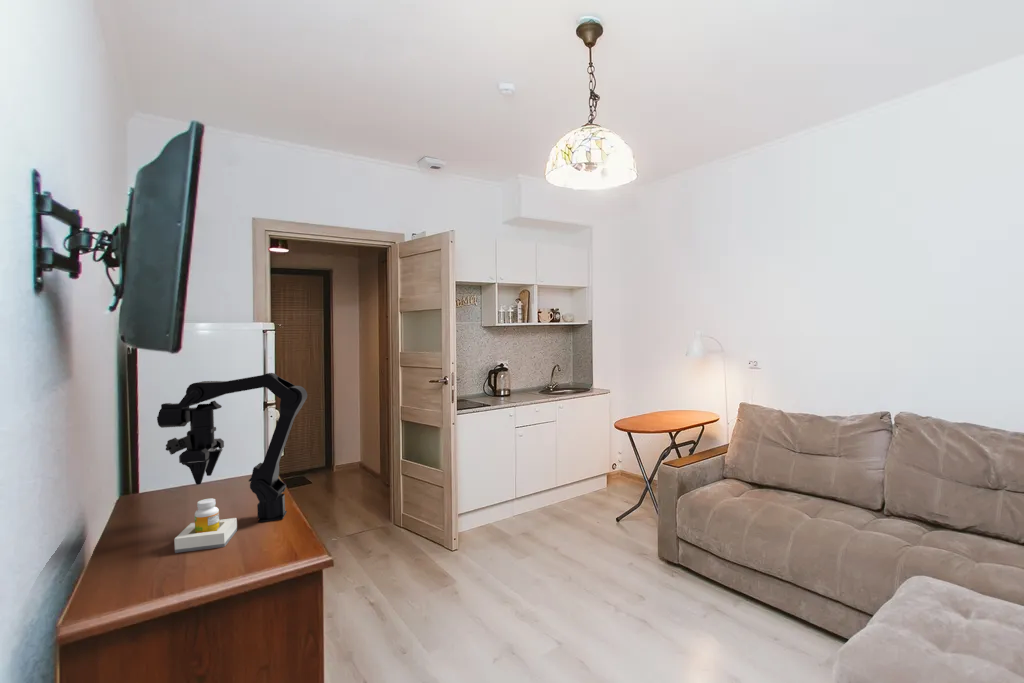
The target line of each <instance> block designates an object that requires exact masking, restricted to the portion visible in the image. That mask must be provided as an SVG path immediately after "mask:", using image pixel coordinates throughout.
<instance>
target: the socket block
mask: <svg viewBox="0 0 1024 683" xmlns="http://www.w3.org/2000/svg"><path fill="white" fill-rule="evenodd" d="M237 531H238V520H237V517H230V518H224V519H219V529H218V530H217V531H211V532H203V533H195V522H190V523H189V524H188V525H186V527H185V528H184V529H183V530H182V531H181V532H180V533H179V534H178V535H177V536H176V537H174V554H177V553H186V552H194V551H201V550H209V549H217V548H225V547H226V545H227V544H228V543H229V542H230V541H231V540H232V538H233V537H234V535H235V534H236V533H237Z"/></svg>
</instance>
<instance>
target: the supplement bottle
mask: <svg viewBox="0 0 1024 683" xmlns="http://www.w3.org/2000/svg"><path fill="white" fill-rule="evenodd" d="M216 505H217V504H216V498H212V497H211V498H205V499H200V500H199V501H197V505H196V506H197V509H196V511H194V523H195V533H203V532H211V531H217V530H218V529H219V520H220V510H219V508H218V507H217V506H216Z"/></svg>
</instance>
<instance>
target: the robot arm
mask: <svg viewBox="0 0 1024 683" xmlns="http://www.w3.org/2000/svg"><path fill="white" fill-rule="evenodd" d="M261 388H265V389H267V390H269V391H270V392H271V393H272V394H273V395H274V396H275V397H277V398H279V399H280V403H279V416H278V419H277V422H276V426H275V428H274V431H273V434H272V437H271V439H270V442H269V445H268V448H267V451H266V454H265V456H264V459H263V461H262V462H259V463H258V464H256V465H255V466H253V469H252V472H251V476H250V479H248V482H250V483H249V488H250V490H251V491H252V493H253V494H255V496H256V498H257V500H258V503H257V519H258V520H257V521H258V523H263V522H264V523H265V522H272V521H281V520H283V519H284V518H285V516H286V514H287V510H286V499H285V498H286V496H285V493H284V492H285V491H286V487H287V484H286V483H285V482H283V480H281V479H280V478H279V475H280V461H281V458H282V456H283V452H284V450H285V447H286V444H287V441H288V439H289V435H290V433H291V429H292V427H293V424H294V422H295V418H296V417H297V415H298V414H299V412H300V411H301V409H302V408H303V406H304V404H305V402H306V401H307V399H308V391H307V390H306V388H304V387H303V386H301V385H295V384H293V383H292V382H290V381H288V380H286V379H285V378H282V377H280V376H278V375H277V374H276V373H275V372H268V373H264V374H261V375H256V376H255V375H254V376H250V377H249V376H248V377H243V378H237V379H231V380H224V381H223V380H204V381H203V380H202V381H198V382H194V383H193V382H192V383H191V384H189V385H188V387H187V388H186V391H185V395H184V396H183V397H182V399H181V400H180V401H179V403H178V402H177V403H171V402H165V403H161V404H160V410H159V412H158V414H157V416H156V421H157V424H158V427H159V428H165V429H166V428H178V427H179V428H182V427H183V428H185V427H186V426H187V425H188V423H189V425H190V427H189V428H190V430H188V431H187V432H186V435H185V436H183V437H181V438H177V437H174V438H173V437H172V438H171V439H168V440H167V444H165V451H167V452H169V454H170V456H172V455H175V454H176V453H177V452H180V451H182V450H185V451H183V452H181V453H180V454H179V456H178V458H179V459H178V462H179V464H181V465H182V466H185V467H187V468H189V470H190V473H191V475H192V478H193V480H194V482H195V485H201V484H202V483H203V479H204V476H205V474H206V476H208V477H210V476H212V474H213V471H214V470H215V467H216V465H217V463H218V460H219V458H220V456H221V454H222V452H223V448H224V447H225V441H224V440H223V439H222V438H220V437H219V438H218V437H217V438H215V432H216V431H217V426H215V417H214V413H215V412H214V411H215V410H219V409H221V408H222V405H221V404H219V403H218V402H217V401H216V400H213V399H216V398H219V397H222V396H224V395H227V394H234V393H239V392H245V391H250V390H255V389H261ZM207 401H210V402H209V403H204V402H207ZM195 405H196V407H192V406H195Z"/></svg>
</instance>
